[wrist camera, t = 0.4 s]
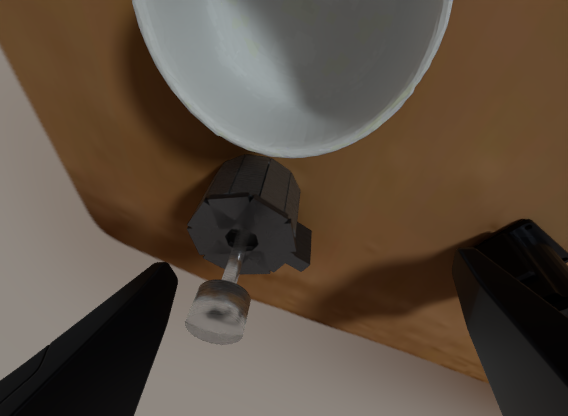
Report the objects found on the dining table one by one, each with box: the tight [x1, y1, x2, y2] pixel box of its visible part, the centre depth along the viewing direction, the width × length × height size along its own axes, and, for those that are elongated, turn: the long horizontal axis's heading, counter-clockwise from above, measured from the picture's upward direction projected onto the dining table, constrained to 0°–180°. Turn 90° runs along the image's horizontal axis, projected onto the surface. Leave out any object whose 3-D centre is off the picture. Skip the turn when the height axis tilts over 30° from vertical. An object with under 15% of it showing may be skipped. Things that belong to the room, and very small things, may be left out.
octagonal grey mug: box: [187, 154, 312, 274], centre depth 22 cm, size 9×7×6 cm
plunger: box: [185, 228, 258, 344], centre depth 18 cm, size 5×5×8 cm
